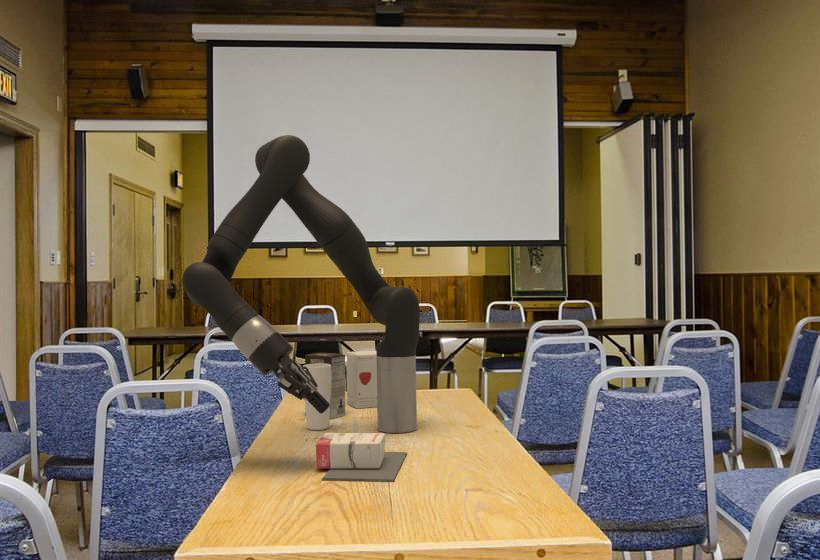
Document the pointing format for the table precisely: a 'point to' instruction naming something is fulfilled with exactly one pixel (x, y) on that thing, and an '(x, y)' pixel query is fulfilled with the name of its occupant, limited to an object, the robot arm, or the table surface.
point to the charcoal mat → (370, 470)
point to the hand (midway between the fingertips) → (326, 409)
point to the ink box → (350, 450)
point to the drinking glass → (324, 382)
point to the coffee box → (333, 380)
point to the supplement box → (362, 379)
